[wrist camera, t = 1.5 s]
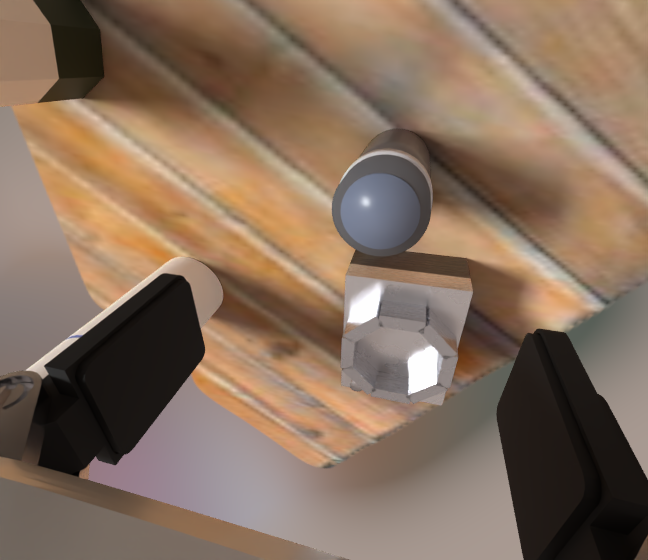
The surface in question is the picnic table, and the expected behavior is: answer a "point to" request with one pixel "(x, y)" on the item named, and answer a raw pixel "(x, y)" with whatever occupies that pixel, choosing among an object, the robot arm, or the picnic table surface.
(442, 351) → the octagonal metal flange
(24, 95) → the wine bottle
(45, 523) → the robot arm
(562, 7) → the picnic table surface
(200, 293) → the cylindrical container
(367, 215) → the flashlight
